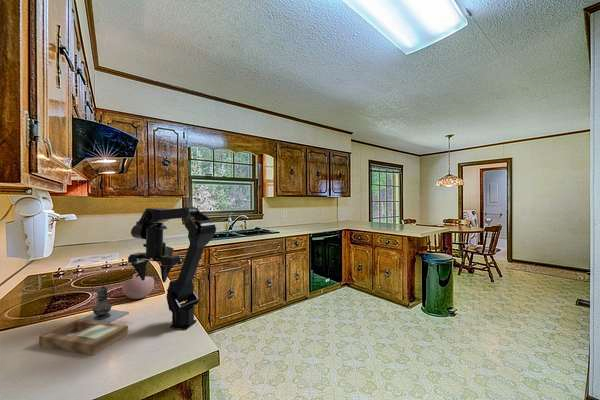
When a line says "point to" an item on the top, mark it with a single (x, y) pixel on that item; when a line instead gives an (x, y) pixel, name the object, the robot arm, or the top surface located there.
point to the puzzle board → (84, 336)
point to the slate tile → (114, 316)
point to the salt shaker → (102, 305)
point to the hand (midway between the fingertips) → (153, 281)
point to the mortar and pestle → (138, 287)
